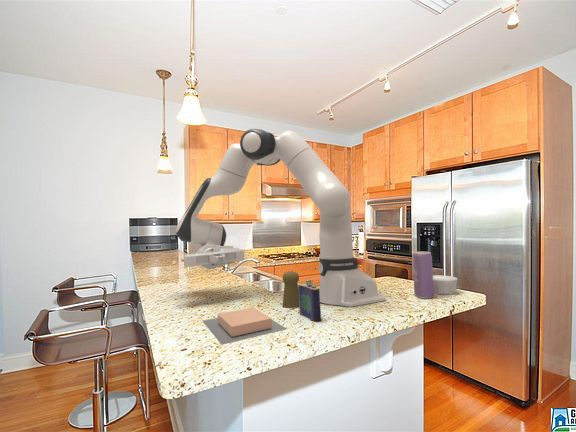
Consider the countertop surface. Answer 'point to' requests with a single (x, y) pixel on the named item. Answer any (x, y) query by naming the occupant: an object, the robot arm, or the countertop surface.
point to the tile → (244, 321)
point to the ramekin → (444, 284)
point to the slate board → (227, 338)
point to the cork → (291, 290)
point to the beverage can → (423, 275)
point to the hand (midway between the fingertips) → (220, 258)
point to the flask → (309, 301)
